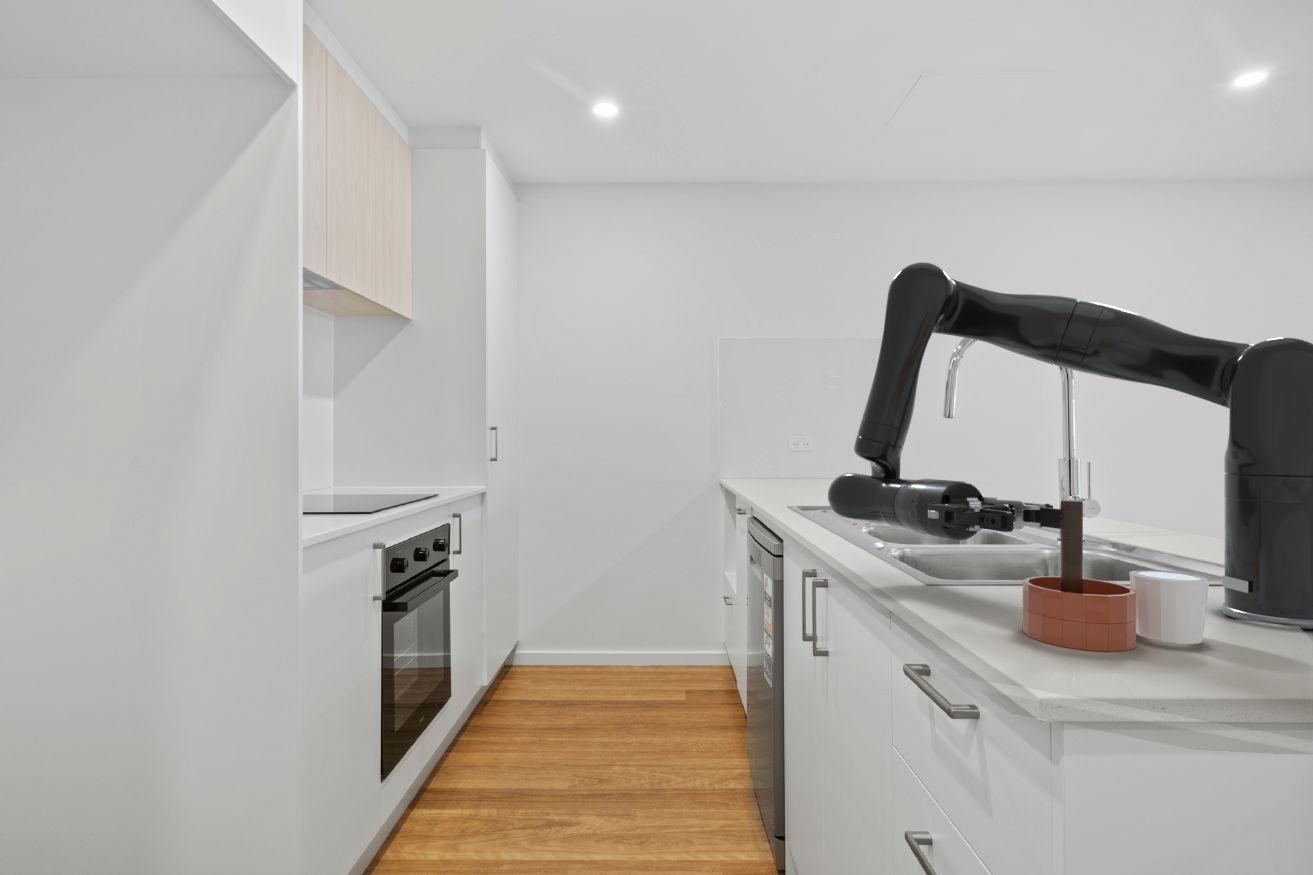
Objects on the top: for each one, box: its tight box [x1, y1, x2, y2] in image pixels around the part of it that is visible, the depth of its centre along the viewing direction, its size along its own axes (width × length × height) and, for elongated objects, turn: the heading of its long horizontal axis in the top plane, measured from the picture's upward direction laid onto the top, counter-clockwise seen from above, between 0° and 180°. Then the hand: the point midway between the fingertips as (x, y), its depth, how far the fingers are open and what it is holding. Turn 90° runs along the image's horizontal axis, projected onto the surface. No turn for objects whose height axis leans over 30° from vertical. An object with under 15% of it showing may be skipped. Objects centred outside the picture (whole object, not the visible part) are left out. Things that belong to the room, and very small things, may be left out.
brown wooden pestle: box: [1060, 499, 1084, 594], centre depth 73 cm, size 3×3×14 cm
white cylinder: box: [1128, 569, 1210, 645], centre depth 73 cm, size 7×7×7 cm
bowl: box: [1022, 575, 1137, 653], centre depth 72 cm, size 10×10×6 cm
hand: (1041, 521), depth 77 cm, fingers open, 8 cm apart
